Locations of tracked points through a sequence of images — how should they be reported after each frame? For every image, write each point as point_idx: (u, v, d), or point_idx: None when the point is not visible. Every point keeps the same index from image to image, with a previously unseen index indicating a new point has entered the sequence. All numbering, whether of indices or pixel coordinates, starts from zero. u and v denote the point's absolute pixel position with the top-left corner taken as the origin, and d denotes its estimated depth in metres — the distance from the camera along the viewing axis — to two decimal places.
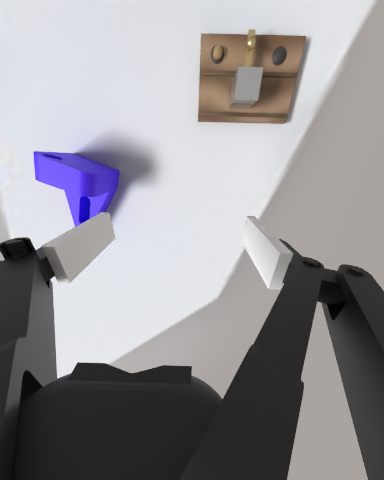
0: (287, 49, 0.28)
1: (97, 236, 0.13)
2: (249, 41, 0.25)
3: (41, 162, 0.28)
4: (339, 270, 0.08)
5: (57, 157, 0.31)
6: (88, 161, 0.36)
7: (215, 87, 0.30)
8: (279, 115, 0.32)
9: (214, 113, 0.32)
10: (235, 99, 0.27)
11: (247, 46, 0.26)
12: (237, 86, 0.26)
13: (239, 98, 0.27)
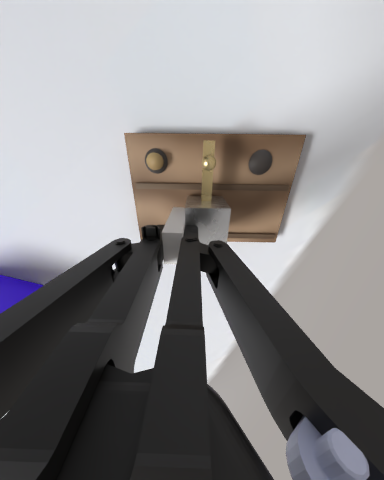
0: (274, 153, 0.16)
1: None
2: (204, 163, 0.13)
3: None
4: (209, 247, 0.10)
5: None
6: None
7: (160, 203, 0.19)
8: (264, 236, 0.20)
9: None
10: None
11: None
12: None
13: None
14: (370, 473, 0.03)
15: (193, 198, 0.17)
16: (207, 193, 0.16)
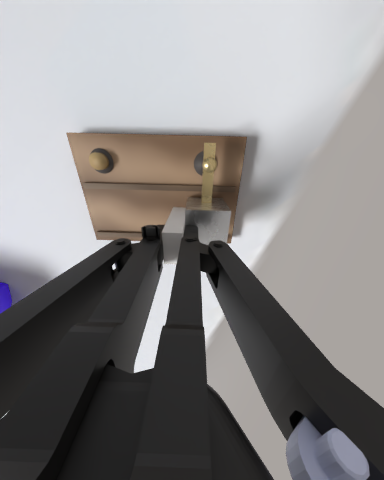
0: (218, 154, 0.16)
1: None
2: (204, 165, 0.13)
3: None
4: (209, 247, 0.10)
5: None
6: None
7: (111, 202, 0.19)
8: None
9: (117, 234, 0.20)
10: None
11: None
12: None
13: None
14: (370, 473, 0.03)
15: (193, 200, 0.17)
16: (207, 195, 0.16)
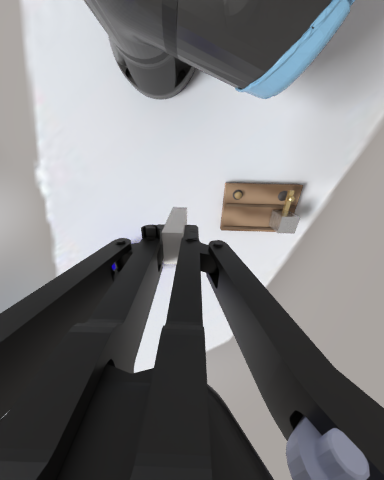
0: None
1: None
2: (290, 199, 0.35)
3: None
4: (209, 247, 0.10)
5: None
6: None
7: (235, 212, 0.40)
8: None
9: (233, 227, 0.42)
10: None
11: (288, 200, 0.36)
12: (280, 226, 0.36)
13: (281, 232, 0.37)
14: (370, 473, 0.03)
15: (277, 211, 0.38)
16: (286, 210, 0.37)
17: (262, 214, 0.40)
